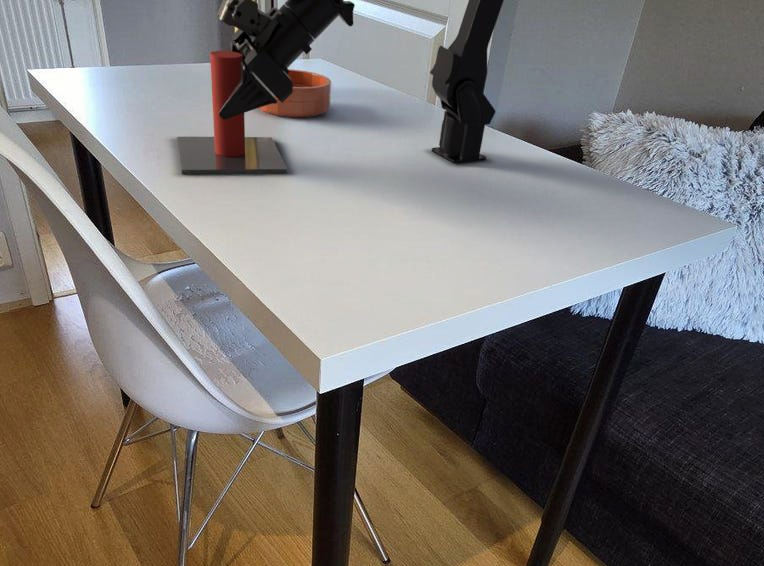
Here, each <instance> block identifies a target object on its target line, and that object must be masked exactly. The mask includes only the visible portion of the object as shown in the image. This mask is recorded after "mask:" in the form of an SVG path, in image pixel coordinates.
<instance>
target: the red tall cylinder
mask: <svg viewBox="0 0 764 566" xmlns="http://www.w3.org/2000/svg"><path fill="white" fill-rule="evenodd" d="M209 61H210V75H211V76H210V78H211V79H210V81H211V99H212V118H213V119H212V120H213V134H214V136H213V137H214V140H215V152H216V154H218V155H221V156H225V157H238V156H242V155H244V154H245V137H246V132H245V131H246V129H245V127H246V126H245V125H246V124H245V113H242V114H239V115H237V116H234V117H231V118H228V119H226V120H224V119H222V118H221V117H220V116H219V114H218V113H219V111H220V109H221V108H222V106H223V105H224V103H225V102H226V100H227V99H228V97H229V96H230V95H231V93H232V92H233V90H234V89H235V87H236V86H237V84H238V83H239V82H240V80H241V62H243V55H242V54H240V53H238V52H233V51H231V50H214V51H210V53H209Z"/></svg>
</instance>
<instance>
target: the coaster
mask: <svg viewBox="0 0 764 566" xmlns="http://www.w3.org/2000/svg"><path fill="white" fill-rule="evenodd" d="M176 141H177V142H176V143H177V148H178V156H179V163H180V170H181V174H182V175H217V174H218V175H233V174H234V175H236V174H239V175H241V174H246V175H247V174H288V168H287V165H286V164H285V162H284V160H283V158H282V155H281V154H280V152H279V149H278V148H277V145H276V144H275V141H274V139H273V137H272V136H245V154H244V155H242V156H238V157H225V156H221V155H218V154H216V152H215V140H214V136H176Z"/></svg>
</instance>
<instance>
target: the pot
mask: <svg viewBox="0 0 764 566" xmlns="http://www.w3.org/2000/svg"><path fill="white" fill-rule="evenodd" d="M288 70H289V71H290V72H289V73H288V74H287V75H288V76H289V78H290V79H291V80H292V82H293V93H292V94H291V95H290V96H289V97H288V98H287V99H286V100H285V101H284V102H283V103H282V102H281V101H280V100H279V99H278V98H277V97H276V96H274V97H275V98H276V100H277V101H278V102H277V103H276V104H274V103H273V104H269V105H266V106H263V107H260V108H259V110H261V111H263V112H265V113H267V114H271V115H274V116H280V117H288V118H311V117H317V116H320V115H322V114H325V112H328V111H329V110H330V108H331V99H332V97H331V94H332V81H331V79H330V78H329V77H327V76H325V75H323V74H320V73H316V72H314V71H313V72H312V71H307V70H302V69H301V70H300V69H289V68H288Z"/></svg>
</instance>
